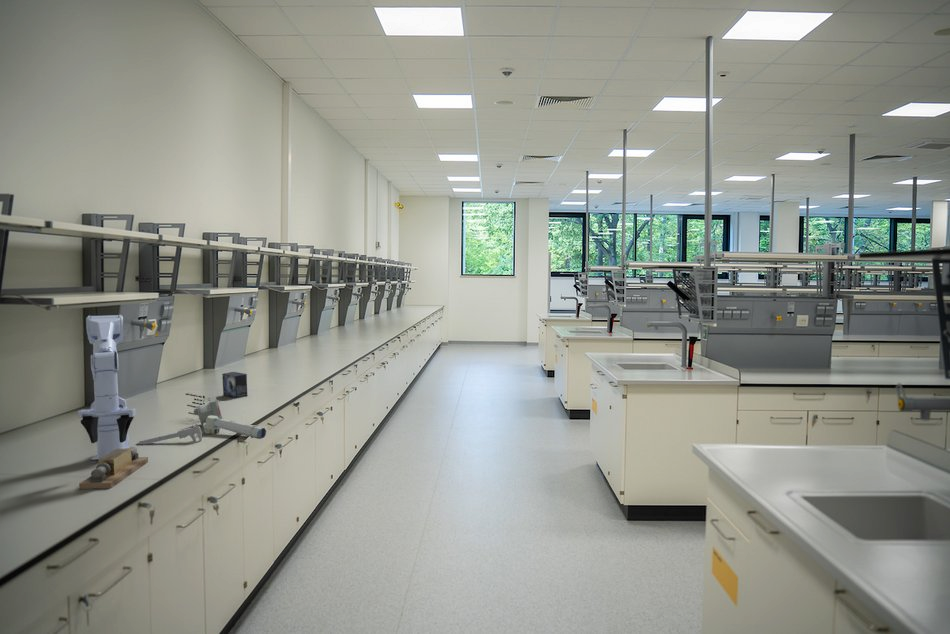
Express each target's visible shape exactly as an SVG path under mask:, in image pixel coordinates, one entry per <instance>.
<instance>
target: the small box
mask: <svg viewBox="0 0 950 634" xmlns="http://www.w3.org/2000/svg"><path fill="white" fill-rule="evenodd" d="M247 376H248V374H247V373H244V372H237V371H231V372H224V373H222V395H223V396H224V397H230V398H233V399H240V398H245V397H248V379H247Z"/></svg>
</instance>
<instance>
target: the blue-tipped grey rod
mask: <svg viewBox="0 0 950 634" xmlns="http://www.w3.org/2000/svg"><path fill="white" fill-rule="evenodd" d="M202 427H203V433H204V434H207V435H209V434H212V435H215V434H219V433H220V429H221V430H227V431H229V432H233V433H236V434H240V435H243V436H247V437H249V438H251V439H253V438H254V439H259V440H261V439H263V438H265V437H266V435H267V430H266V428H264V427H261V426H258V424H255V425H252V424H248V423H243V422H238V421H234V420H228V419H224V418H222V419H219V418H218V417H217V416H213V415H211V416H208V417H207V419H206V423H204V424H203V426H202Z"/></svg>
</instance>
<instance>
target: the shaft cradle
mask: <svg viewBox="0 0 950 634" xmlns="http://www.w3.org/2000/svg"><path fill="white" fill-rule="evenodd" d="M130 448H131V459H132V464H130V465H129V466H127V467H126V468H124V469H123V470H121V471H120V472H118V473H117V474H115V475H108V474H109V473H110V470H111V469H110V466H109V465H108V464H107V463H100V464H99V463H98V464H97V466H95V469H93V470H91V473H90V476H89V477H88V478H86V479H84V480H82V481H81V482H79V485H78V487H79V490H91V489H92V490H93V488H97V489H112V488H113V487H115V486H116V485H118V484H119V483H120V481H121V480H122V481H124V480H125V479H126V478H128V477H129V476H130V475H132V474H133V473H135V472H136V471H138V470H139V469H140V468H142V467H143V466H144V465H146V464H147V463H148V462H149V457H148V456H144V457H142V456H141V457H140V456H139V452H138V449H137V448H136V447H135V446H131V447H130V446H129V448H125V449H130ZM127 476H128V477H127ZM124 478H125V479H124ZM122 481H121V482H122ZM117 483H118V484H117ZM114 485H115V486H114ZM111 487H112V488H111Z"/></svg>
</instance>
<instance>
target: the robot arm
mask: <svg viewBox="0 0 950 634" xmlns="http://www.w3.org/2000/svg"><path fill="white" fill-rule="evenodd" d="M85 323H86V335H87V340H88V341H89V344H91V345H93V346H92V354H91V355H90V369H91V372H92V373H91V374H92V380H93V392H94V401H93V402H92V403H91V404H90V408H89V409H81V410H78V411H77V416H78V417H77V418H79V419H81V420H80V424H81V425H82V426H83V428H84V429H85V431H86V432H87V434H88V437H89V439H90V443H91V444H95V443H96V453H97V454H96V455H94V456H93V457H91V461H95V460H99V459H100V458H102V457H104V456H105V455H107V454H109V453H110V452H112V451H114V450H116V449H125V448H130V437H129V429H130V426H131V423H132V422H133V420H134V418H135V416H136V415H137V410H136V408H129V407H128V406H127V401H126V399H124V398H122V397H120V396H119V385H118V384H119V383H118V382H119V381H118V372H119V354H118V351H117V345H118V344H120V343H123V339H124V317H123V315H122V314H117V315H115V314H114V315H113V314H112V315H111V314H110V315H88V316H86V318H85Z"/></svg>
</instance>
